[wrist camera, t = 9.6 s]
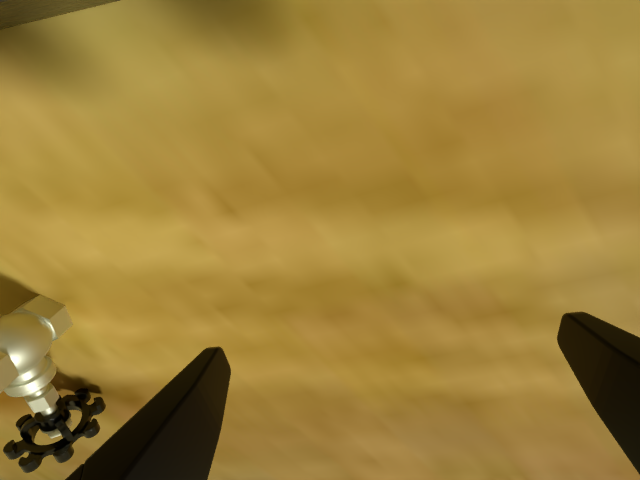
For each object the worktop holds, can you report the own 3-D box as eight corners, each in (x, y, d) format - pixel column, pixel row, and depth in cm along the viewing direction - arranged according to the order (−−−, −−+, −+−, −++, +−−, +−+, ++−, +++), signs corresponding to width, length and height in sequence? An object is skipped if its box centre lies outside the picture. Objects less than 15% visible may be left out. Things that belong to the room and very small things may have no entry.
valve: (-3, 289, 24) (53, 392, 29) (-112, 357, 18) (-17, 470, 24) (82, 294, 24) (122, 396, 29) (0, 364, 18) (69, 476, 23)
